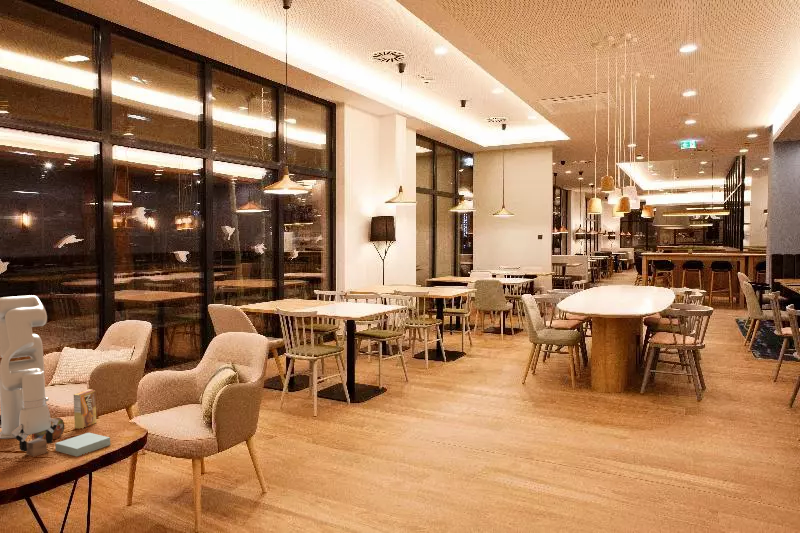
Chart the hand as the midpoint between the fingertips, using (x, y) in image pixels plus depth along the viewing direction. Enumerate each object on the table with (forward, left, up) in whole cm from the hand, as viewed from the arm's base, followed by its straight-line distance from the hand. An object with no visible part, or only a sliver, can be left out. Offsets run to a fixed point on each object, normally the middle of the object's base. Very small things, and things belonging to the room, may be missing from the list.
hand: (36, 446), depth 227 cm
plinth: (+11, +12, -3) cm, 16 cm away
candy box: (-15, +30, -3) cm, 34 cm away
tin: (-11, +11, -3) cm, 16 cm away
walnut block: (0, 0, -3) cm, 3 cm away
